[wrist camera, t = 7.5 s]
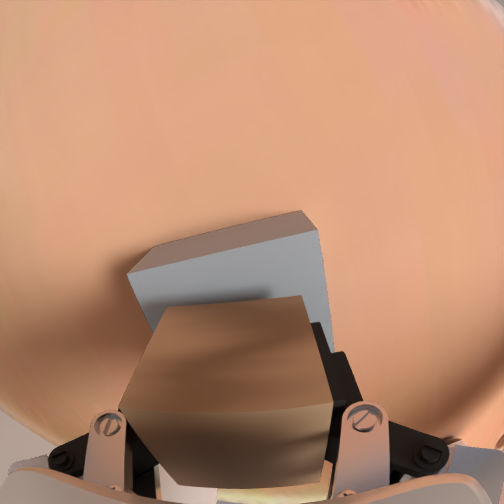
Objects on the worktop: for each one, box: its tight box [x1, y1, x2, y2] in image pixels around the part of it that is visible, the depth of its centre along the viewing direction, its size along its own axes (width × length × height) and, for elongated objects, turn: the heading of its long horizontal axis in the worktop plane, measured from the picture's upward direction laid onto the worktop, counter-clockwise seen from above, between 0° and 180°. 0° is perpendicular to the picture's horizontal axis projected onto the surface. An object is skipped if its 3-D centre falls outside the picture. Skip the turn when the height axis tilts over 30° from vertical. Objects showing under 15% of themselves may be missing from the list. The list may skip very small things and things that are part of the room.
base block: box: [127, 210, 334, 353], centre depth 14 cm, size 8×8×4 cm
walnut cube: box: [118, 295, 333, 489], centre depth 8 cm, size 5×5×5 cm
